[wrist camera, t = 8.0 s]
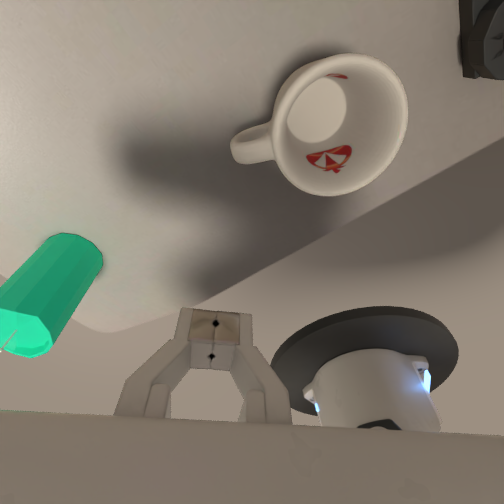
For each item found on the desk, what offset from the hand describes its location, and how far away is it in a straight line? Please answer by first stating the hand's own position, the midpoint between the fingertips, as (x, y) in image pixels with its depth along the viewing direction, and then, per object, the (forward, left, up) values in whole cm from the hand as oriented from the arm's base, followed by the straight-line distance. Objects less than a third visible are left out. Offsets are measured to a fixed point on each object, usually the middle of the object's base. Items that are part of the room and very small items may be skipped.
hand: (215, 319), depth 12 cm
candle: (0, +20, -17) cm, 26 cm away
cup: (+2, -7, -17) cm, 19 cm away
